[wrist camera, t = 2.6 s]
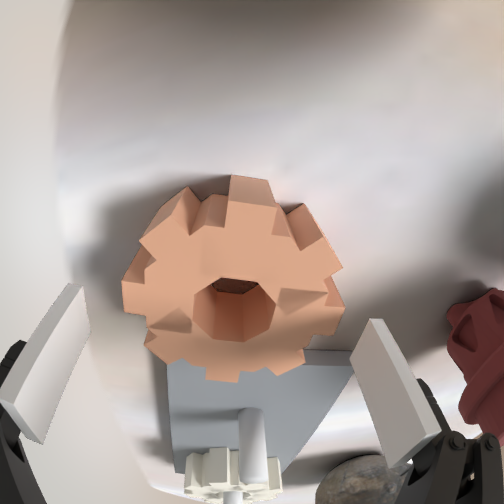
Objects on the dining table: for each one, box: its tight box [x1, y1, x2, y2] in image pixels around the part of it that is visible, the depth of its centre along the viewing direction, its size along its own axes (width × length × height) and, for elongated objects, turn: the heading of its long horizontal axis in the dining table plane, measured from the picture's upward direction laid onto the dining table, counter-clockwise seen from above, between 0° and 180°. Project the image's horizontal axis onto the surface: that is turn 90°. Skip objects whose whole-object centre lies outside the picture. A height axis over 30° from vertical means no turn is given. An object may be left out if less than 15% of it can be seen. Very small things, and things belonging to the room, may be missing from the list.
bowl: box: [315, 455, 412, 504], centre depth 29 cm, size 14×15×10 cm
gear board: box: [167, 350, 354, 504], centre depth 22 cm, size 24×13×8 cm, turn 170°
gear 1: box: [121, 175, 345, 383], centre depth 15 cm, size 10×10×4 cm
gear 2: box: [184, 447, 283, 504], centre depth 25 cm, size 10×10×4 cm
